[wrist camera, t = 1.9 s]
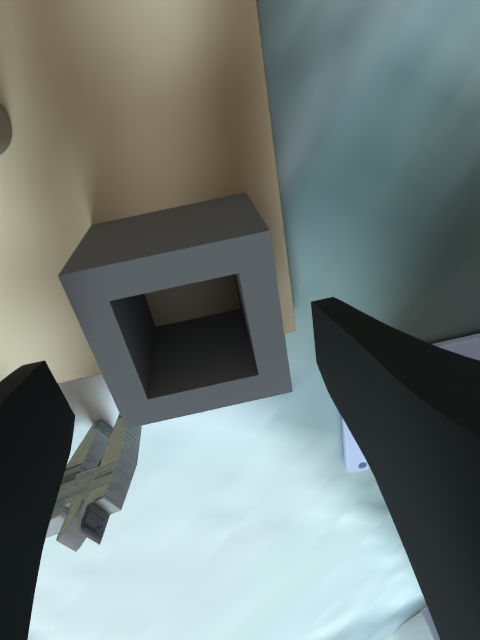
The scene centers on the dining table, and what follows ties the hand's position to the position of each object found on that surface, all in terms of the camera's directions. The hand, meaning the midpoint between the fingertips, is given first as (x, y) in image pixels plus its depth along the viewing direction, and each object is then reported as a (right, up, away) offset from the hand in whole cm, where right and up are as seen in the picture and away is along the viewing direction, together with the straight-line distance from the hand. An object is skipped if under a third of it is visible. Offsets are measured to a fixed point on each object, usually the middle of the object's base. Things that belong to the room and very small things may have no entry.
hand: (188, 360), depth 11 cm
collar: (-1, +3, +5) cm, 6 cm away
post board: (-4, +5, +4) cm, 8 cm away
